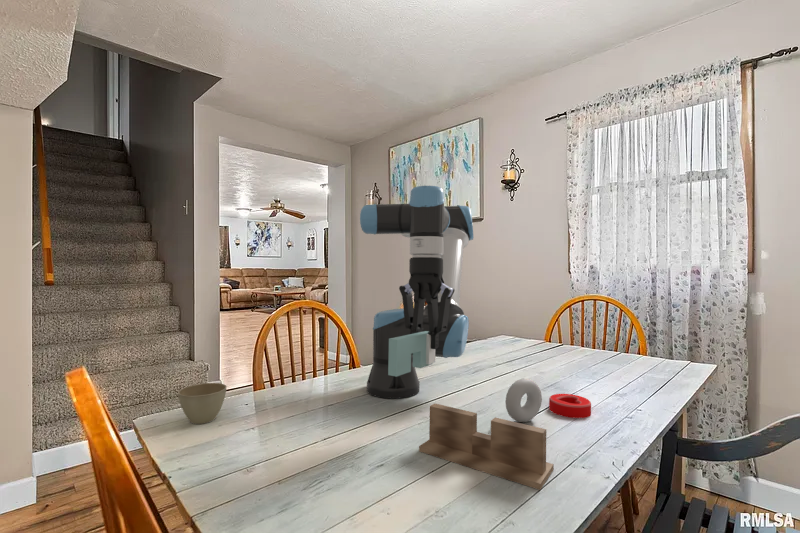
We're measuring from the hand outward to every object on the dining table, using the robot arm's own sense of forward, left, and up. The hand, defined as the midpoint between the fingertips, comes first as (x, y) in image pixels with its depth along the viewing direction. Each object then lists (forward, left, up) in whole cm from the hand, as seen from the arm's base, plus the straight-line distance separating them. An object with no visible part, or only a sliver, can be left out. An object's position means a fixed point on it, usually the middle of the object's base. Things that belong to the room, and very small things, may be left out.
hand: (425, 362), depth 90 cm
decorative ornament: (+24, +30, -15) cm, 41 cm away
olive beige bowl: (-43, -27, -15) cm, 53 cm away
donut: (+17, +16, -15) cm, 27 cm away
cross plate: (0, -6, 0) cm, 6 cm away
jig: (+17, -7, -14) cm, 23 cm away
